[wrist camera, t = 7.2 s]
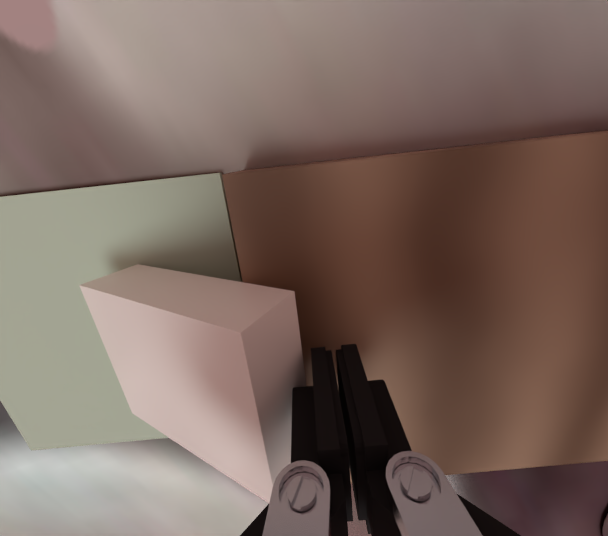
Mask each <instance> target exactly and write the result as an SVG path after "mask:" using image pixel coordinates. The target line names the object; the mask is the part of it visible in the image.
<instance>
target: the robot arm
mask: <svg viewBox="0 0 608 536" xmlns="http://www.w3.org/2000/svg"><path fill="white" fill-rule="evenodd" d="M311 361H312V376H313V386H305V387H294V388H293V390H292V429H291V464H288V465H287V466H286V467H285V468H283V469H282V470H281V471H280V473H279V474H278V476H277V477H276V479H275V482H274V485H273V488H272V493H271V498H270V502H269V504H268V505H267V507H266V508H265V509H264V510H263V511H262V512H261V513H260V514H259V515H258V517H257V518H256V519H255V520H254V521H253V522H252V523H251V524H250V525H249V526H248V528H247V529H246V530H245V531H244V532H243V533H242V534H241V535H240V536H348V526H347V521H353V515H352V499H351V482H350V473H351V479H352V485H353V491H354V497H355V503H356V509H357V514H358V519H359V520H366V525H367V530H368V534H371V535H372V536H520V535H519V534H517V533H516V532H514V531H513V530H511V529H510V528H508V527H507V526H505V525H504V524H502V523H501V522H499V521H498V520H496V519H494V518H493V517H491V516H490V515H488V514H487V513H485V512H484V511H482V510H481V509H479V508H478V507H476V506H475V505H473V504H472V503H470V502H469V501H467V500H466V499H464V498H463V497H461V496H459V495H458V494H456V492H455V490H454V489H453V487H452V486H451V484H450V482H449V481H448V479H447V477H446V476H445V474H444V473H443V471H442V470H441V469H440V467H439V466H438V465H437V464H436V463H435V462H434V461H433V460H431V459H430V458H429V457H427V456H425V455H423V454H421V453H418V452H413V451H412V450H411V447H410V445H409V442H408V440H407V437H406V434H405V432H404V429H403V427H402V424H401V422H400V419H399V417H398V414H397V411H396V409H395V406H394V404H393V401H392V399H391V396H390V393H389V391H388V388H387V386H386V383H385V381H384V380H383V379H381V380H370V381H368V380H367V377H366V373H365V370H364V367H363V364H362V361H361V358H360V354H359V351H358V348H357V345H356V344H348V345H341V349H338V350H336V361H337V375H338V385H337V379H336V374H335V368H334V362H333V357H332V351H331V350H327V351H326V349H325V347H316V348H311ZM338 390H339V391H338ZM602 532H603V536H608V514H607V516H606V518H605V520H604V524H603V529H602Z"/></svg>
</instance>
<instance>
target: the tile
mask: <svg viewBox="0 0 608 536" xmlns="http://www.w3.org/2000/svg"><path fill="white" fill-rule="evenodd" d="M79 286H80V288H81V291H82V293H83V296H84V298H85V300H86V303H87V305H88V308H89V310H90V313H91V315H92V317H93V320H94V322H95V325H96V327H97V329H98V332H99V334H100V337H101V339H102V342H103V344H104V346H105V349H106V351H107V354H108V356H109V358H110V361H111V363H112V366H113V368H114V371H115V373H116V375H117V378H118V380H119V383H120V385H121V387H122V390H123V392H124V395H125V397H126V400H127V402H128V404H129V407H130V409H131V412H132V413H133V414H134V415H136V416H137V417H139V418H140V419H142V420H143V421H145V422H146V423H148V424H149V425H151V426H152V427H154V428H155V429H157V430H158V431H160V432H161V433H163V434H164V435H166V436H167V437H169V438H170V439H172V440H173V441H175V442H177V443H178V444H180V445H181V446H183V447H184V448H186V449H187V450H189V451H190V452H192V453H193V454H195V455H196V456H198V457H199V458H201V459H202V460H204V461H205V462H207V463H208V464H210V465H211V466H213V467H214V468H216V469H217V470H219V471H220V472H222V473H223V474H225V475H226V476H228V477H229V478H231V479H232V480H234V481H235V482H237V483H239V484H240V485H242V486H243V487H245V488H246V489H248V490H249V491H251V492H252V493H254V494H255V495H257V496H258V497H260V498H261V499H263V500H264V501H266V502H267V503H269V502H270V498H271V493H272V488H273V485H274V482H275V479H276V477H277V476H278V474H279V473H280V471H281V470H282V469H283V468H285V467H286V466H287V465H288V464H291V429H292V390H293V388H294V387H305V386H306V379H305V371H304V363H303V355H302V347H301V339H300V331H299V323H298V315H297V307H296V299H295V291H290V290H284V289H279V288H273V287H267V286H261V285H255V284H250V283H244V282H238V281H232V280H226V279H221V278H215V277H209V276H203V275H197V274H192V273H186V272H180V271H174V270H168V269H163V268H157V267H151V266H145V265H139V264H137V265H134V266H131V267H128V268H126V269H123V270H120V271H117V272H114V273H112V274H109V275H106V276H103V277H100V278H98V279H95V280H92V281H89V282H86V283H83V284H81V285H79Z"/></svg>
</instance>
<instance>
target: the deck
mask: <svg viewBox="0 0 608 536" xmlns="http://www.w3.org/2000/svg"><path fill="white" fill-rule="evenodd" d="M222 177H223V183H224V188H225V193H226V198H227V203H228V208H229V213H230V219H231V224H232V229H233V234H234V239H235V244H236V250H237V255H238V260H239V265H240V270H241V275H242V281H243V282H244V283H250V284H255V285H261V286H267V287H273V288H279V289H284V290H290V291H295V299H296V307H297V315H298V323H299V331H300V339H301V347H302V355H303V363H304V371H305V379H306V386H313V376H312V361H311V348H316V347H325V349H326V351H327V350H331V351H332V357H333V362H334V368H335V374H336V379H337V385H338V375H337V361H336V350H338V349H341V345H348V344H356V345H357V348H358V351H359V354H360V358H361V361H362V364H363V367H364V370H365V373H366V377H367V380H368V381H370V380H381V379H383V380H384V381H385V383H386V386H387V388H388V391H389V393H390V396H391V399H392V401H393V404H394V406H395V409H396V411H397V414H398V417H399V419H400V422H401V424H402V427H403V429H404V432H405V434H406V437H407V440H408V442H409V445H410V447H411V450H412V451H413V452H418V453H421V454H423V455H425V456H427V457H429V458H430V459H431V460H433V461H434V462H435V463H436V464H437V465H438V466H439V467H440V469H441V470H442V471H443V473H444V474H445V475H451V474H463V473H474V472H485V471H496V470H508V469H519V468H530V467H541V466H553V465H564V464H575V463H586V462H598V461H608V130H605V131H596V132H587V133H577V134H568V135H559V136H550V137H541V138H532V139H523V140H514V141H504V142H495V143H486V144H477V145H468V146H459V147H450V148H441V149H431V150H422V151H413V152H404V153H395V154H386V155H377V156H368V157H358V158H349V159H340V160H331V161H322V162H313V163H304V164H295V165H285V166H276V167H267V168H258V169H249V170H242V171H237V172H232V173H228V174H223V175H222ZM338 391H339V390H338ZM350 482H351V483H352V479H351V473H350Z"/></svg>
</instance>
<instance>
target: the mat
mask: <svg viewBox="0 0 608 536" xmlns="http://www.w3.org/2000/svg"><path fill="white" fill-rule="evenodd" d="M137 264H139V265H145V266H151V267H157V268H163V269H168V270H174V271H180V272H186V273H192V274H197V275H203V276H209V277H215V278H221V279H226V280H232V281H238V282H243V281H242V275H241V270H240V265H239V260H238V255H237V250H236V244H235V239H234V234H233V229H232V224H231V219H230V213H229V208H228V203H227V198H226V193H225V188H224V183H223V177H222V173H212V174H203V175H194V176H185V177H176V178H167V179H158V180H149V181H139V182H130V183H121V184H112V185H103V186H94V187H85V188H76V189H67V190H57V191H48V192H39V193H30V194H21V195H12V196H3V197H0V401H1V402H2V404H3V406H4V407H5V409H6V410H7V412H8V414H9V415H10V417H11V419H12V420H13V422H14V423H15V425H16V427H17V428H18V430H19V431H20V433H21V435H22V436H23V438H24V440H25V441H26V443H27V444H28V446H29V448H30V449H31V450H41V449H52V448H62V447H73V446H84V445H95V444H105V443H116V442H127V441H138V440H149V439H159V438H169V437H167V436H166V435H164V434H163V433H161V432H160V431H158V430H157V429H155V428H154V427H152V426H151V425H149V424H148V423H146V422H145V421H143V420H142V419H140V418H139V417H137V416H136V415H134V414H133V413H132V412H131V409H130V407H129V404H128V402H127V400H126V397H125V395H124V392H123V390H122V387H121V385H120V383H119V380H118V378H117V375H116V373H115V371H114V368H113V366H112V363H111V361H110V358H109V356H108V354H107V351H106V349H105V346H104V344H103V342H102V339H101V337H100V334H99V332H98V329H97V327H96V325H95V322H94V320H93V317H92V315H91V313H90V310H89V308H88V305H87V303H86V300H85V298H84V296H83V293H82V291H81V288H80V286H79V285H81V284H83V283H86V282H89V281H92V280H95V279H98V278H100V277H103V276H106V275H109V274H112V273H114V272H117V271H120V270H123V269H126V268H128V267H131V266H134V265H137Z"/></svg>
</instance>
